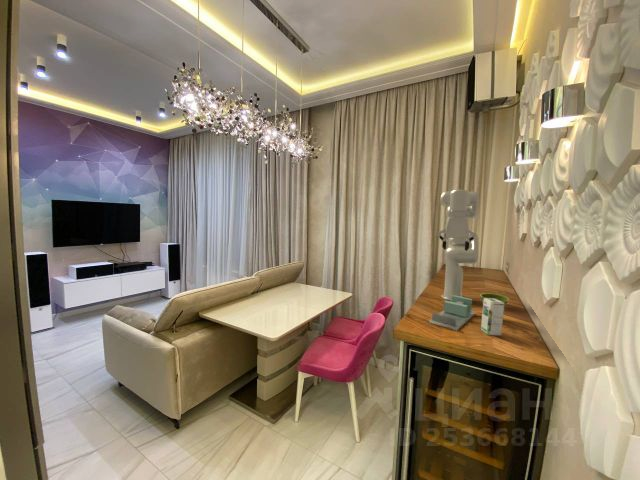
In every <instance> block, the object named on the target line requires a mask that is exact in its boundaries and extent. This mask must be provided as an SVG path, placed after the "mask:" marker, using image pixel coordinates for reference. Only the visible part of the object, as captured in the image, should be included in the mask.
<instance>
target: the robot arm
mask: <svg viewBox="0 0 640 480" xmlns="http://www.w3.org/2000/svg"><path fill="white" fill-rule="evenodd" d="M439 200H440V201H439V202H440V205H441V206H442V207H446V210H445V214H446V221H445V227H444V229H441V230H440V231H438V232H437V236H438V238H439V239H440V240H441V241H442V248H443V250H445V252H444V259H445V274H444V288H443V289H444V290H443V291H444V292H443V293H442V294H441V296H440V297H441V298H442V299H443V300H445V301H451V302H452V296H453V295H455V296H460V297H464V296H462V295H463V281H464V280H463V279H464V269H463V268H462V266H461V265H460V264H466V265H475V264H477V263H478V261H479V236H478V234H477V233H476V232H474V231H472V230H469V221H468V219H475V218H476V217H477V216H478V213H479V203H480V197H479V193H478V192H476V191H467V190H465V189H454V190H451V191H443V192H442V193H441V195H440V199H439ZM442 234H444V237H443V236H442ZM447 240H448V244H449V245H450V246H449V247H447Z"/></svg>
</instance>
